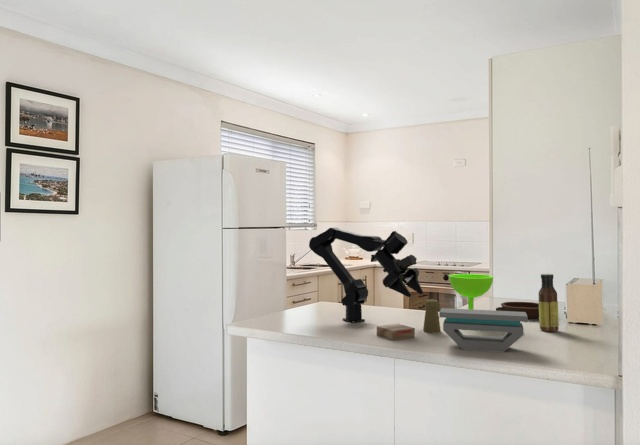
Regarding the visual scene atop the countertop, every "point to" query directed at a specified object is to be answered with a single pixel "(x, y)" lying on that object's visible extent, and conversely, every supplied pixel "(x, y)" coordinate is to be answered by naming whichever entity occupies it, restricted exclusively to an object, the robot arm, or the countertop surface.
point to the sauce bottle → (548, 305)
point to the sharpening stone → (483, 328)
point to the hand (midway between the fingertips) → (416, 294)
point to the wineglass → (471, 285)
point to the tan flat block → (395, 331)
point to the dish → (521, 308)
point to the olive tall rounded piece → (431, 317)
